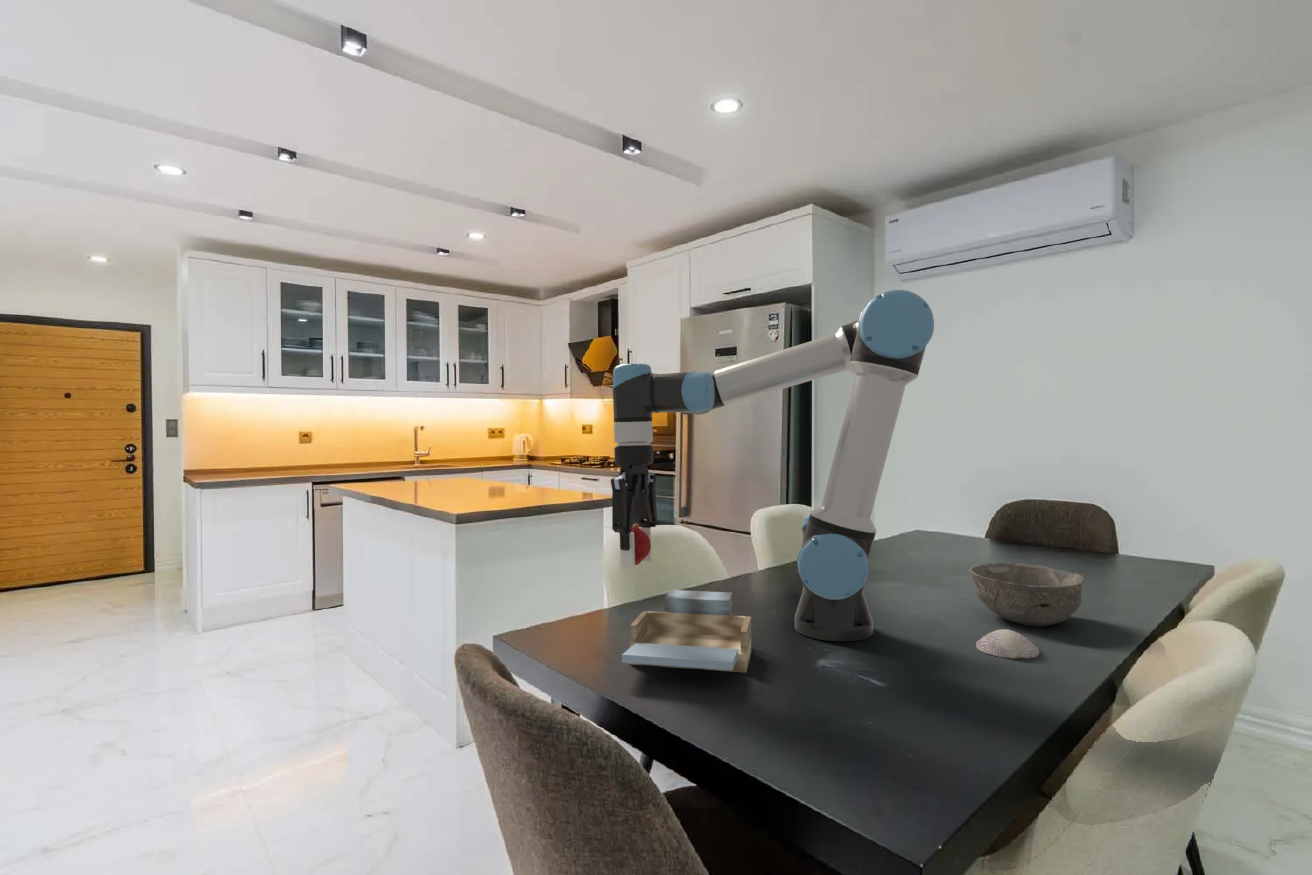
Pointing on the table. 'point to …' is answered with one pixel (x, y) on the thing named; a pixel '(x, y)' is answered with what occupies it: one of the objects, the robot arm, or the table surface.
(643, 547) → the onion
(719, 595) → the open wooden box
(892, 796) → the table surface
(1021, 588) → the bowl
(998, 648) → the seashell
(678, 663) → the panel
